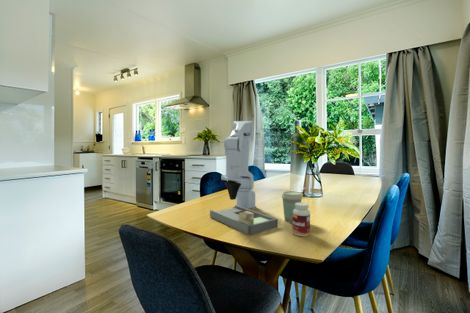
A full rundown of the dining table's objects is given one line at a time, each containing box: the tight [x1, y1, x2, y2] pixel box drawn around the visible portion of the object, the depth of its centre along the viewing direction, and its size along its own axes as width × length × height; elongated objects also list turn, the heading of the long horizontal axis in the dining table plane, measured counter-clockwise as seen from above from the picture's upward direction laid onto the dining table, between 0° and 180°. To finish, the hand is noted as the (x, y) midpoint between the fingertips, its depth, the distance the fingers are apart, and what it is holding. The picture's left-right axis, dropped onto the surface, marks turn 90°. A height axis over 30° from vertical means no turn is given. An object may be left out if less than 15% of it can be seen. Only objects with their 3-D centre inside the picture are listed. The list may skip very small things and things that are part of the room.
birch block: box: [239, 211, 254, 225], centre depth 95 cm, size 4×4×4 cm
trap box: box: [209, 204, 279, 236], centre depth 103 cm, size 15×27×3 cm, turn 37°
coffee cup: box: [281, 190, 303, 224], centre depth 104 cm, size 8×8×12 cm
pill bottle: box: [291, 201, 311, 237], centre depth 89 cm, size 6×6×11 cm
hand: (232, 199), depth 102 cm, fingers closed
